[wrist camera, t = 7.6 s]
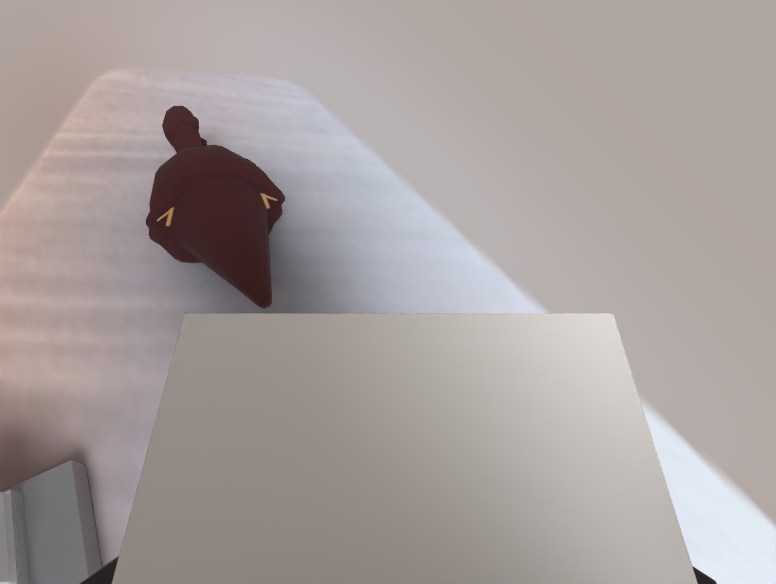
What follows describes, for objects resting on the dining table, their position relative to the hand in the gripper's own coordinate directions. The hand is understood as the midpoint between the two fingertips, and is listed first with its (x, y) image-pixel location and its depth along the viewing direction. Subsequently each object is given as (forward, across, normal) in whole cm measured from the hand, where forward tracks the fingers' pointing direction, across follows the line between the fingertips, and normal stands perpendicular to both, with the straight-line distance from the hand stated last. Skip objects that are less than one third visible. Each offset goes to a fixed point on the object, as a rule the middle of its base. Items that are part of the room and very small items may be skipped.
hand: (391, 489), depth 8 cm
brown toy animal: (+21, +9, -2) cm, 23 cm away
